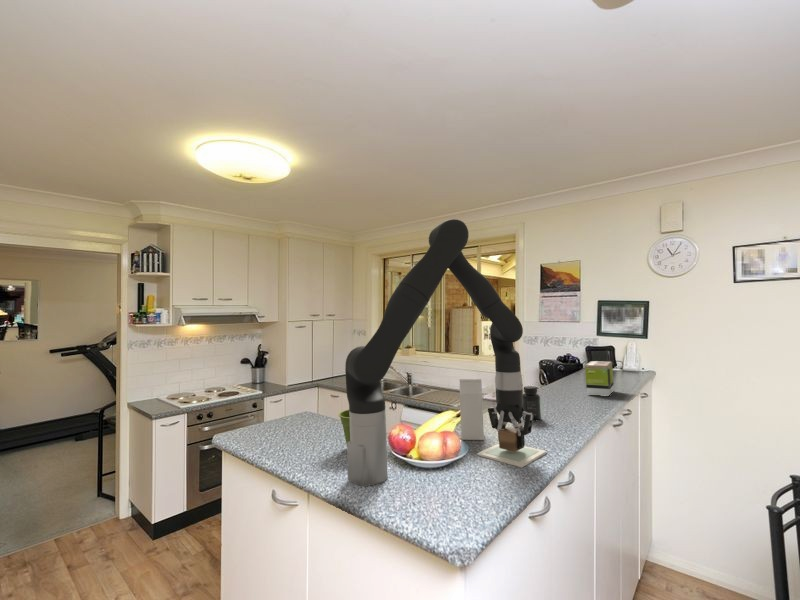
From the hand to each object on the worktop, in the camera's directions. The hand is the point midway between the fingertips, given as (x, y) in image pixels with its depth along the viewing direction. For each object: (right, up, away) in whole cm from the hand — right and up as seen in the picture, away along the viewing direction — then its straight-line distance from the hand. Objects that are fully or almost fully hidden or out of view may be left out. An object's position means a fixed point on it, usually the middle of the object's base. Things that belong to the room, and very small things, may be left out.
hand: (511, 446), depth 114 cm
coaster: (0, -2, 0) cm, 2 cm away
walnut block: (0, 0, 0) cm, 0 cm away
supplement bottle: (+18, -3, +36) cm, 41 cm away
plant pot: (-45, -5, +9) cm, 46 cm away
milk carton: (-8, -3, +17) cm, 19 cm away
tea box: (+65, -3, +77) cm, 101 cm away
